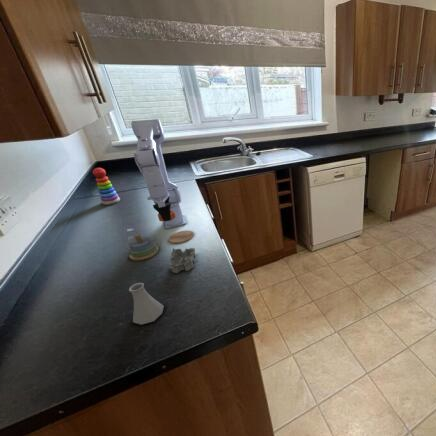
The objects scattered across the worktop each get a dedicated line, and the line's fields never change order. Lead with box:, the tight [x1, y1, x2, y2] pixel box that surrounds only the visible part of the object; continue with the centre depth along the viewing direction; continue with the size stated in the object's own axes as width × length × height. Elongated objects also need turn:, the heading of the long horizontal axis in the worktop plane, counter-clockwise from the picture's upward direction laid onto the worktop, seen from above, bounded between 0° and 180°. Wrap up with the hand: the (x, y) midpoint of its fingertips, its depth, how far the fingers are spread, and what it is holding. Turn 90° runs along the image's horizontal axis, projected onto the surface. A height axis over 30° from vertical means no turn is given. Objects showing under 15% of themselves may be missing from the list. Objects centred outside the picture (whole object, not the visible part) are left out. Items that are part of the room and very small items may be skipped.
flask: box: [128, 282, 165, 326], centre depth 71 cm, size 7×7×10 cm
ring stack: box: [128, 233, 160, 262], centre depth 98 cm, size 9×9×8 cm
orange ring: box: [157, 210, 175, 223], centre depth 102 cm, size 5×5×2 cm
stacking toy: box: [92, 167, 121, 206], centre depth 138 cm, size 8×8×19 cm
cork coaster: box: [168, 230, 195, 244], centre depth 109 cm, size 9×9×1 cm
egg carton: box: [168, 247, 196, 274], centre depth 93 cm, size 11×8×4 cm
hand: (167, 217), depth 103 cm, fingers closed on orange ring, 5 cm apart
